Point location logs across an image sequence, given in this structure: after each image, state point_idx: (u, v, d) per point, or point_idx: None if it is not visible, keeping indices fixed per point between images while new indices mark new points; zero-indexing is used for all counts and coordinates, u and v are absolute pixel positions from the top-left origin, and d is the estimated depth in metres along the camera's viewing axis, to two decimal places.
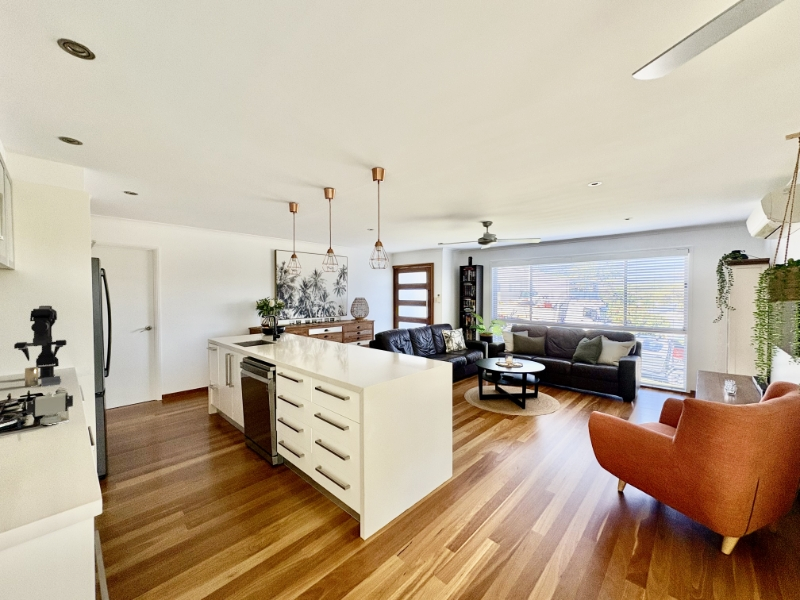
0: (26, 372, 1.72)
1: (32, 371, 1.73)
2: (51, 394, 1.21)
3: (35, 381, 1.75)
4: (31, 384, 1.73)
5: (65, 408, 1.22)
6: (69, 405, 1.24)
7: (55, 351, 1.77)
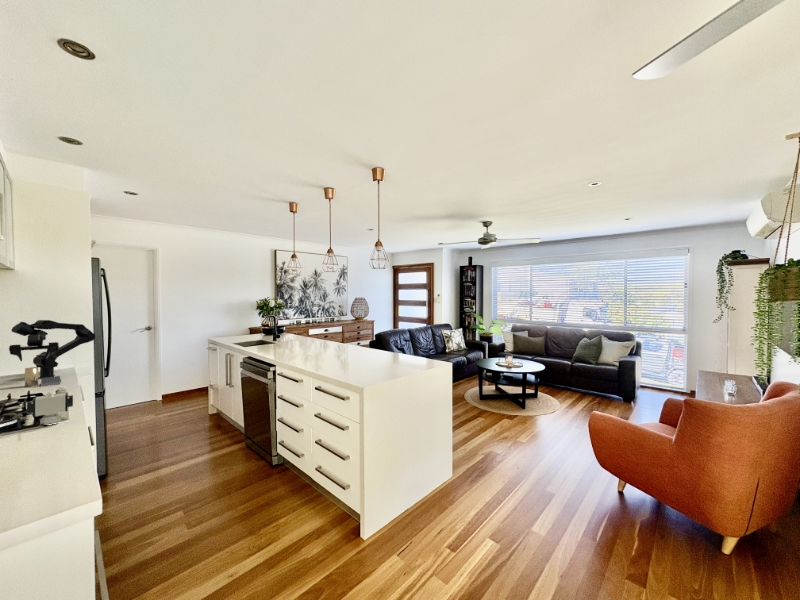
0: (26, 372, 1.72)
1: (32, 371, 1.73)
2: (51, 394, 1.21)
3: (35, 381, 1.75)
4: (31, 384, 1.73)
5: (65, 408, 1.22)
6: (69, 405, 1.24)
7: (47, 351, 1.85)
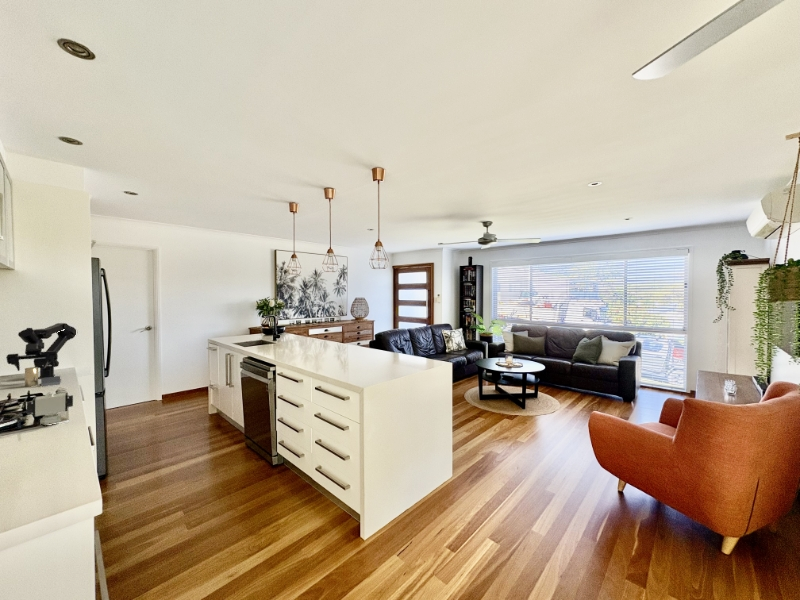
0: (26, 372, 1.72)
1: (32, 371, 1.73)
2: (51, 394, 1.21)
3: (35, 381, 1.75)
4: (31, 384, 1.73)
5: (65, 408, 1.22)
6: (69, 405, 1.24)
7: (46, 360, 1.81)
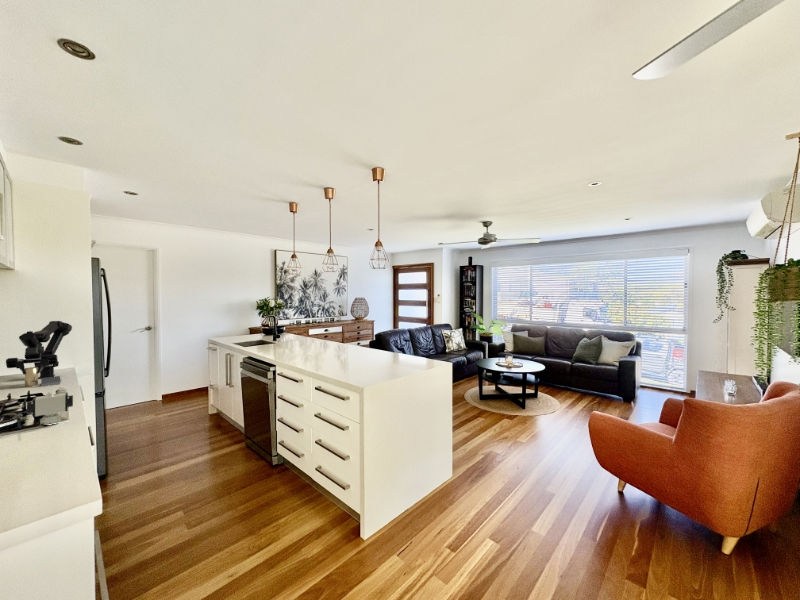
0: (26, 372, 1.72)
1: (32, 371, 1.73)
2: (51, 394, 1.21)
3: (35, 381, 1.75)
4: (31, 384, 1.73)
5: (65, 408, 1.22)
6: (69, 405, 1.24)
7: (40, 365, 1.77)
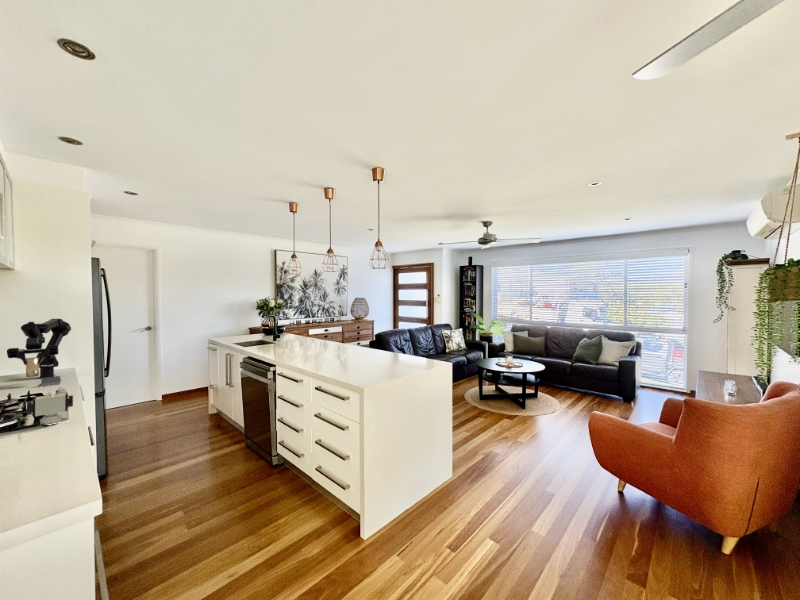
0: (27, 362, 1.73)
1: (32, 361, 1.74)
2: (51, 394, 1.21)
3: (36, 371, 1.75)
4: (32, 374, 1.73)
5: (65, 408, 1.22)
6: (69, 405, 1.24)
7: (41, 355, 1.78)
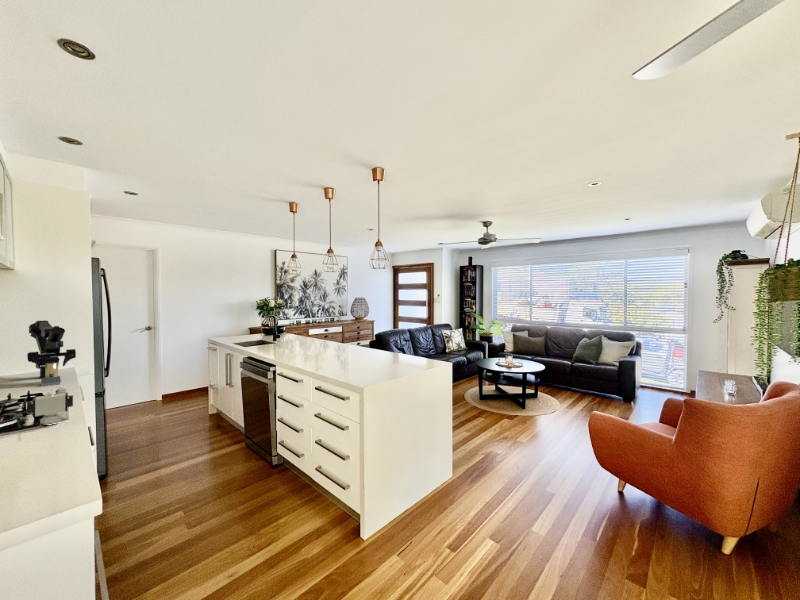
0: (47, 367, 1.78)
1: (52, 366, 1.79)
2: (51, 394, 1.21)
3: None
4: None
5: (65, 408, 1.22)
6: (69, 405, 1.24)
7: (65, 358, 1.84)
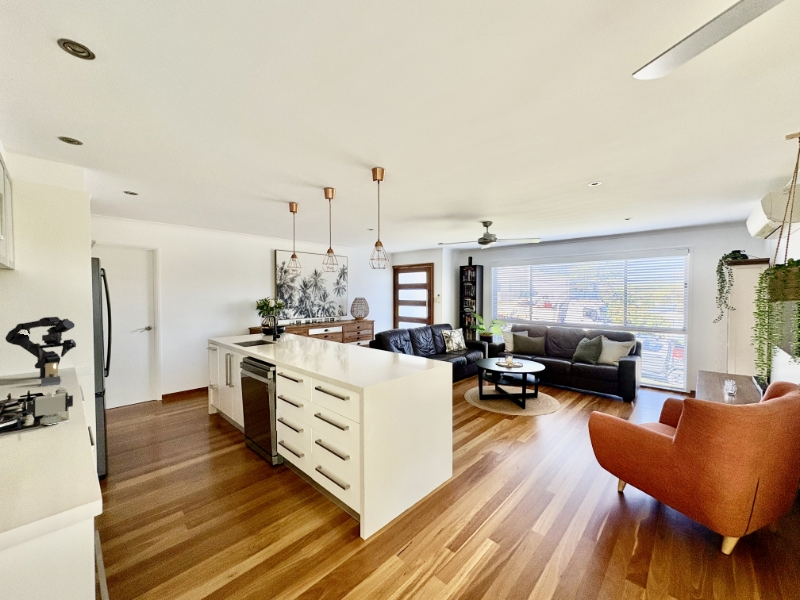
0: (47, 367, 1.78)
1: (52, 366, 1.79)
2: (51, 394, 1.21)
3: None
4: None
5: (65, 408, 1.22)
6: (69, 405, 1.24)
7: (63, 349, 1.89)
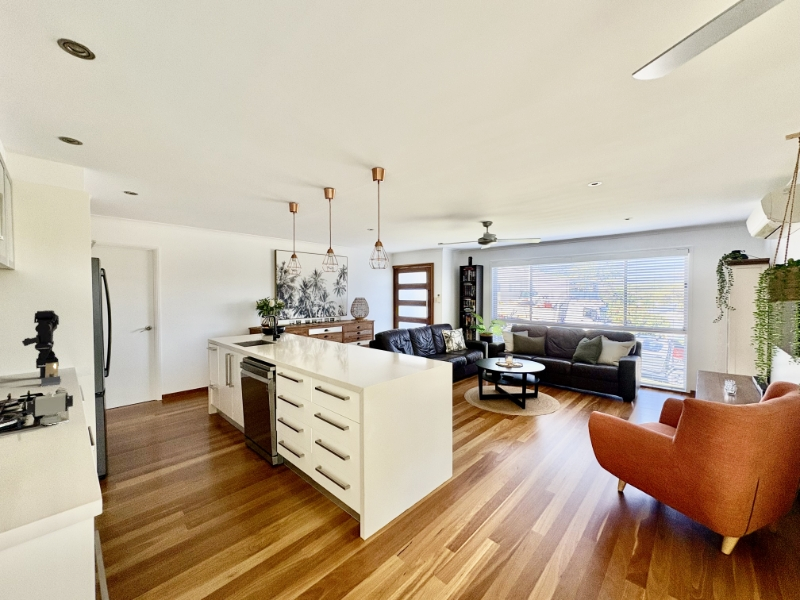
0: (47, 367, 1.78)
1: (52, 366, 1.79)
2: (51, 394, 1.21)
3: None
4: None
5: (65, 408, 1.22)
6: (69, 405, 1.24)
7: (40, 353, 1.80)
